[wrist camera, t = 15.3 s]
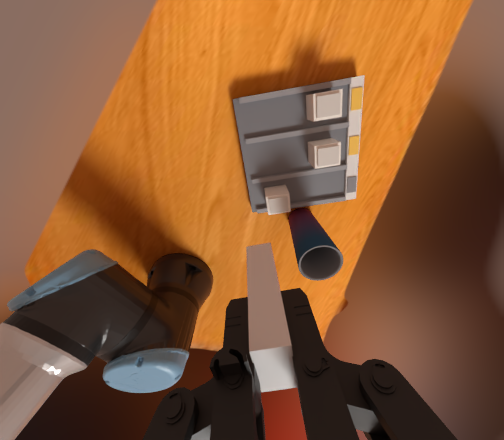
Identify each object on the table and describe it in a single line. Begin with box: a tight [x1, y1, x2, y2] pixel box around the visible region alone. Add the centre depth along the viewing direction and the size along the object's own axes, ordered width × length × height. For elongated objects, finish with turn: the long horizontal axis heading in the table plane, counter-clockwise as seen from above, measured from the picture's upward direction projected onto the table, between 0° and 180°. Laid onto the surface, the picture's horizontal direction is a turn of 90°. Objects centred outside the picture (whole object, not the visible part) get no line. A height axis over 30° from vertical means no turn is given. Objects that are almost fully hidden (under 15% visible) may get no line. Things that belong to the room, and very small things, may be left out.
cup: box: [289, 208, 343, 280], centre depth 40 cm, size 7×7×15 cm
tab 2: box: [306, 89, 343, 121], centre depth 33 cm, size 4×4×5 cm
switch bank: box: [233, 75, 364, 213], centre depth 39 cm, size 20×20×3 cm
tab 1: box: [264, 185, 291, 215], centre depth 40 cm, size 4×4×5 cm
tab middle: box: [308, 138, 341, 169], centre depth 36 cm, size 4×4×5 cm
